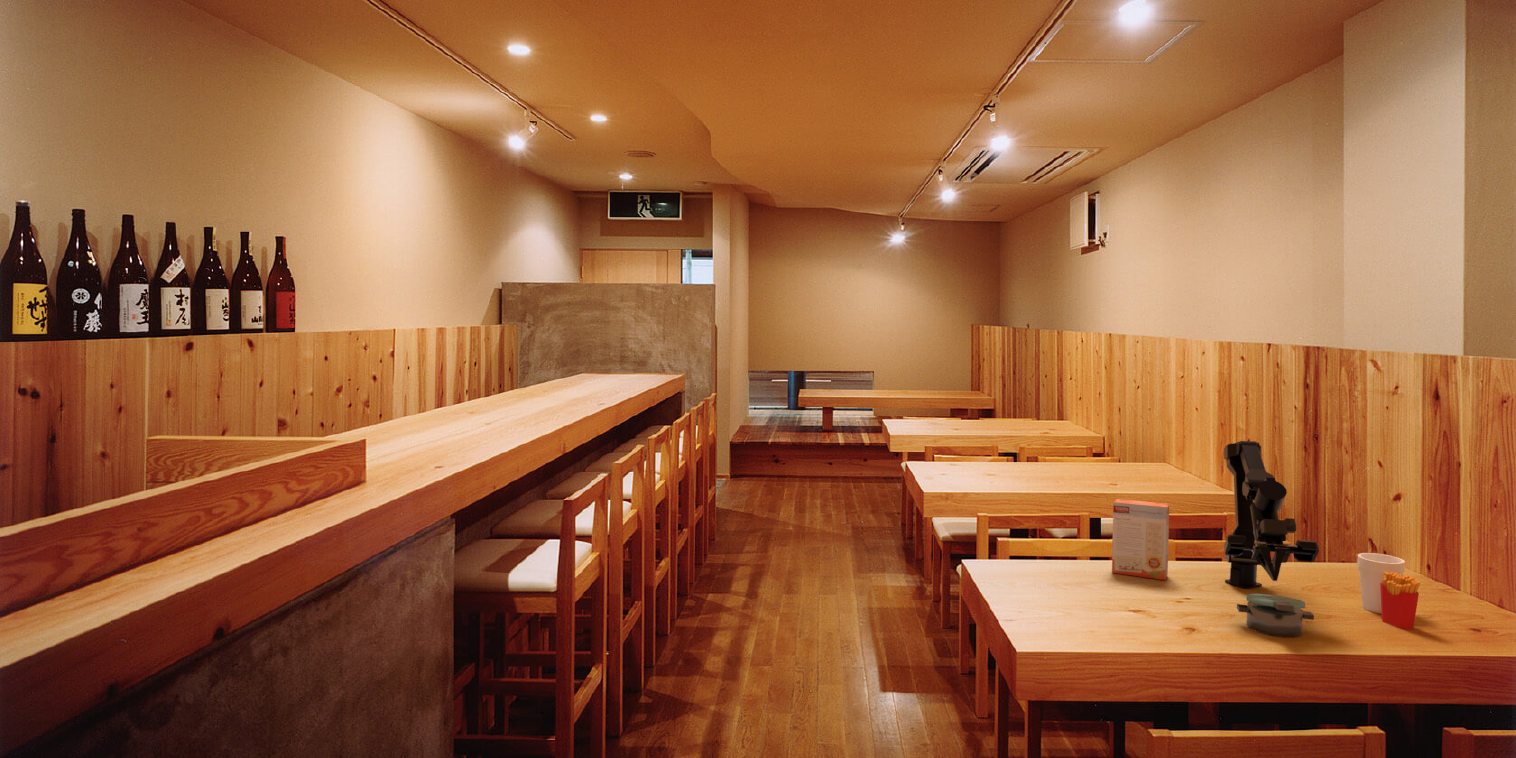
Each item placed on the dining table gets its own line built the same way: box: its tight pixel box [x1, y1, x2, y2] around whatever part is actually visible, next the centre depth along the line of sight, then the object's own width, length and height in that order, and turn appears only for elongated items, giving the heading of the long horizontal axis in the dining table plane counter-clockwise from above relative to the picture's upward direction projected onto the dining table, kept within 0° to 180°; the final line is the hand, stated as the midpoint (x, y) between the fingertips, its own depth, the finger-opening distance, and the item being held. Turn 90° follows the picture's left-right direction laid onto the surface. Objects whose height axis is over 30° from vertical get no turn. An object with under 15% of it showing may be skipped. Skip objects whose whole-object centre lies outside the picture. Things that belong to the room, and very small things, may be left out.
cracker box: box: [1111, 498, 1170, 581], centre depth 230 cm, size 14×6×21 cm, turn 58°
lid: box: [1245, 593, 1306, 612], centre depth 187 cm, size 15×12×1 cm
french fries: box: [1380, 572, 1421, 630], centre depth 192 cm, size 8×4×12 cm, turn 9°
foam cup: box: [1356, 552, 1406, 614], centre depth 202 cm, size 10×9×13 cm
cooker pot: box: [1236, 601, 1315, 638], centre depth 190 cm, size 12×15×5 cm
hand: (1275, 580), depth 190 cm, fingers closed
